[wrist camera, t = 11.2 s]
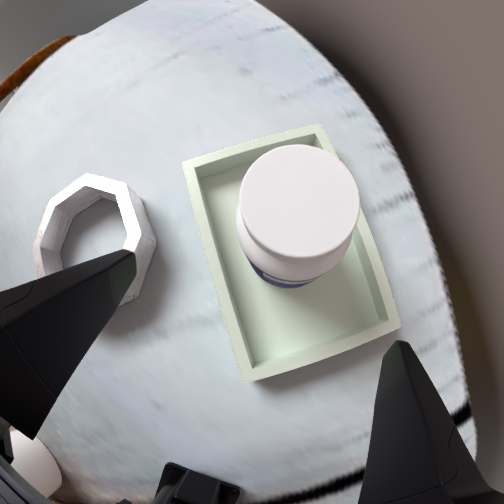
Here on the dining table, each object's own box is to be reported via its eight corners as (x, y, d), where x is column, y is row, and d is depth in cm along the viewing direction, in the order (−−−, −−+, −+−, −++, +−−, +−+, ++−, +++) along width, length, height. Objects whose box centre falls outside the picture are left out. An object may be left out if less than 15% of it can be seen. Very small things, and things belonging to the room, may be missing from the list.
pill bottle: (249, 209, 21) (230, 131, 11) (326, 212, 20) (366, 137, 11) (245, 288, 20) (220, 270, 10) (327, 290, 19) (379, 273, 9)
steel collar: (126, 333, 20) (107, 335, 17) (43, 284, 22) (22, 280, 19) (172, 206, 22) (158, 192, 19) (82, 180, 23) (64, 168, 20)
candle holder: (30, 481, 17) (-26, 509, 5) (3, 416, 19) (-64, 432, 7) (80, 501, 16) (21, 546, 5) (48, 429, 19) (-32, 459, 7)
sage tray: (387, 325, 19) (401, 327, 16) (247, 375, 19) (243, 383, 17) (316, 140, 22) (320, 123, 20) (190, 177, 22) (181, 162, 20)
